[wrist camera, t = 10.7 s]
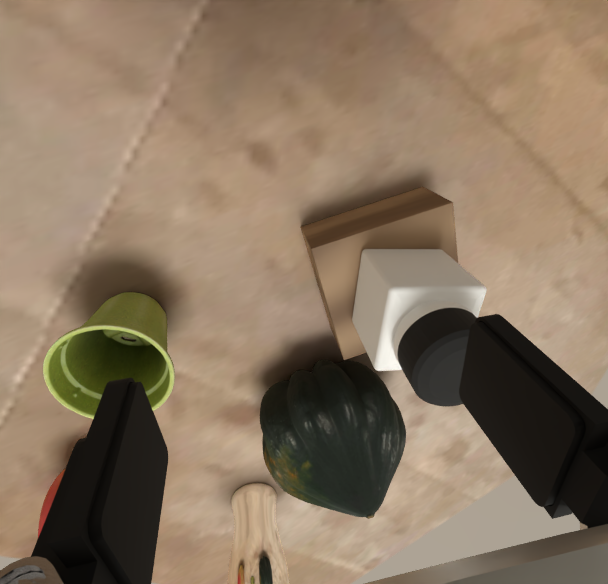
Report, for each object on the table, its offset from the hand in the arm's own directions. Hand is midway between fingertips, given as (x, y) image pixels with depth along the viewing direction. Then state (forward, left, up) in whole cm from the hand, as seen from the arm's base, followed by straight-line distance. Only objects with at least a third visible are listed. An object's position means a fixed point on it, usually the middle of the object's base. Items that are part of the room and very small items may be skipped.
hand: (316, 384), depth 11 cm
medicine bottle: (+8, +11, -20) cm, 24 cm away
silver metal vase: (+42, -5, -26) cm, 49 cm away
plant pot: (+12, -13, -26) cm, 31 cm away
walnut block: (+9, +11, -26) cm, 30 cm away
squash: (+25, +5, -26) cm, 36 cm away
